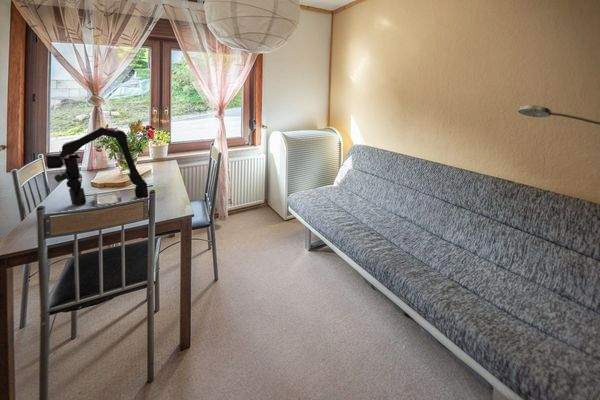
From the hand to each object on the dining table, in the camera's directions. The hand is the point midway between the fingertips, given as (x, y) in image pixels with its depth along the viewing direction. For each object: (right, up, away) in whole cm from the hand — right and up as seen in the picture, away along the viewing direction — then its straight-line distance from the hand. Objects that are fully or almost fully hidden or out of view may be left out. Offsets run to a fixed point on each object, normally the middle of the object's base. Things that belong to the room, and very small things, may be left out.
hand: (77, 195), depth 185 cm
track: (+12, -3, +7) cm, 15 cm away
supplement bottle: (0, -5, +2) cm, 5 cm away
